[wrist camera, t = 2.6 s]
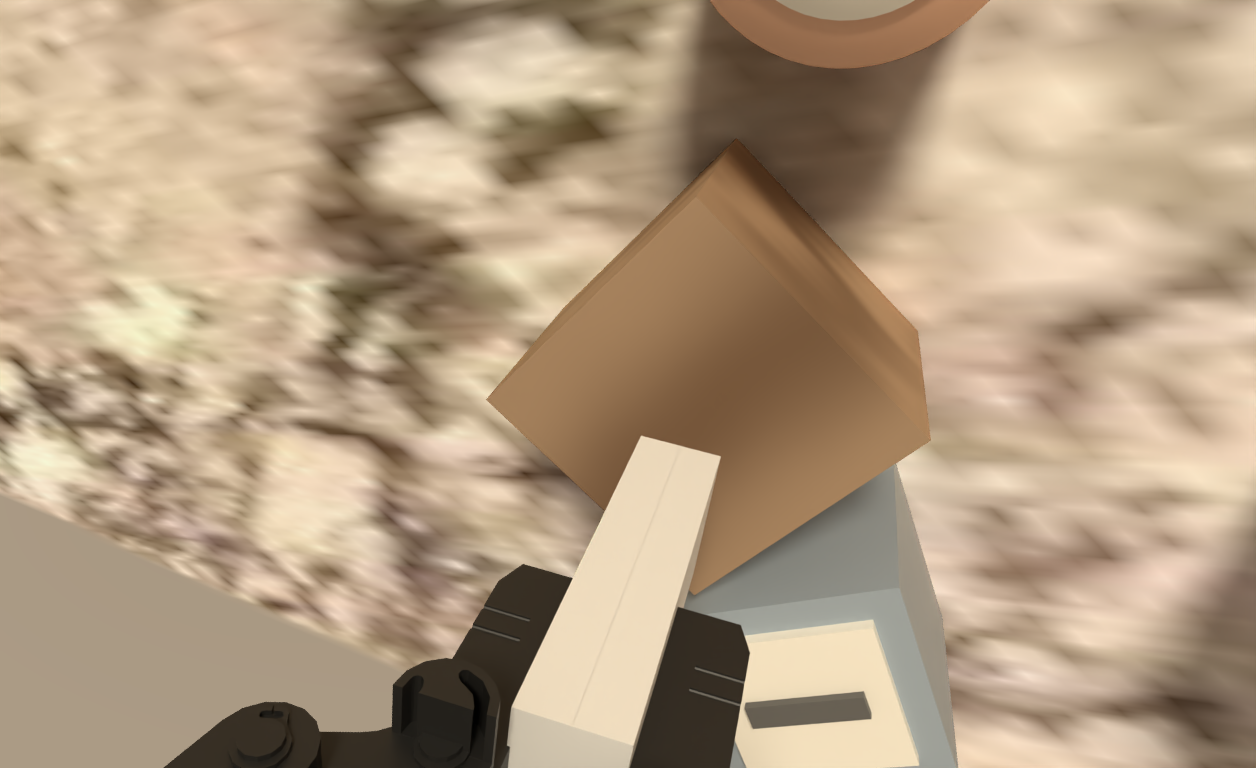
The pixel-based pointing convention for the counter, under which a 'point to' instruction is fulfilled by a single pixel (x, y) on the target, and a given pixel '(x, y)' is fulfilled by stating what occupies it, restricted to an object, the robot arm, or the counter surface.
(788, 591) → the slate block
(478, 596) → the counter surface
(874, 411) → the walnut block
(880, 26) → the terracotta cylinder
